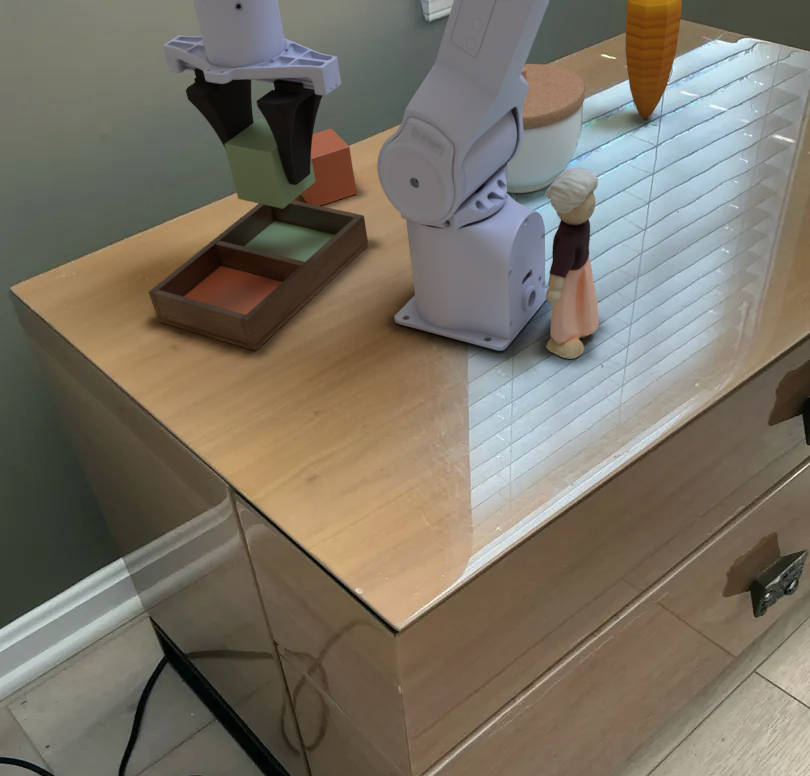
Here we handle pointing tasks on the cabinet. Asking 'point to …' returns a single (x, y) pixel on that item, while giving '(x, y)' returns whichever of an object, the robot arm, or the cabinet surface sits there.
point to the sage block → (262, 168)
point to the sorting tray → (259, 272)
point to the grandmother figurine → (572, 263)
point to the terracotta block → (330, 169)
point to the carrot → (650, 49)
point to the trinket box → (547, 127)
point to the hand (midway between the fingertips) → (273, 173)
